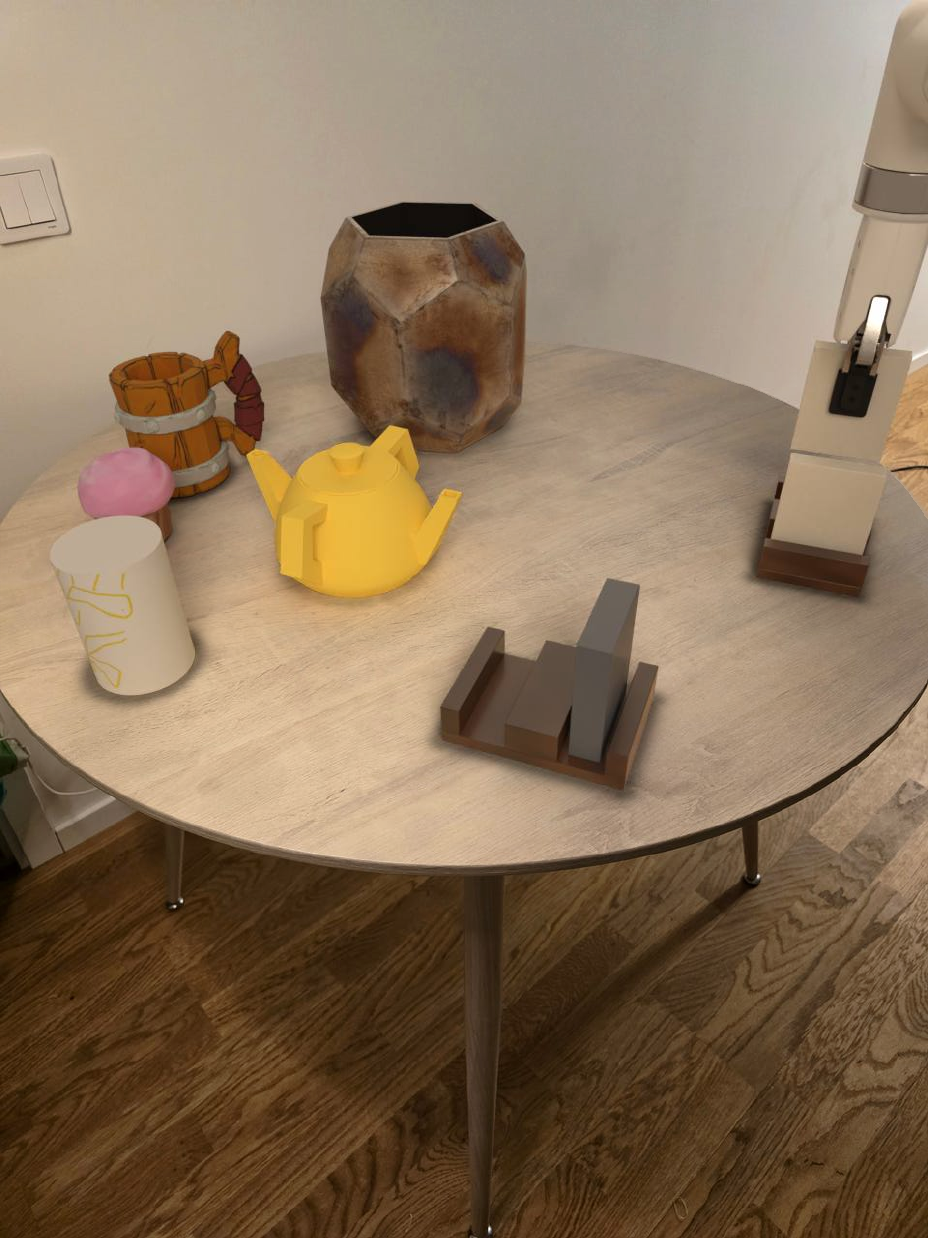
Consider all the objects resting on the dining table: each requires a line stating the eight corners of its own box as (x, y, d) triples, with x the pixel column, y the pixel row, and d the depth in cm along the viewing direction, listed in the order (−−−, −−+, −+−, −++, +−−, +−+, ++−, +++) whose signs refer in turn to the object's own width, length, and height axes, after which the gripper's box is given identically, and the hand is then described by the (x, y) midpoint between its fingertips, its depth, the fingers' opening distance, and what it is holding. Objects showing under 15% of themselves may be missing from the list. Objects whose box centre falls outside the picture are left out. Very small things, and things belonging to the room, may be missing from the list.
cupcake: (199, 521, 91) (177, 434, 84) (172, 569, 84) (146, 478, 78) (116, 519, 91) (89, 433, 85) (83, 567, 84) (50, 477, 78)
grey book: (626, 691, 68) (640, 584, 61) (600, 763, 62) (612, 653, 55) (596, 684, 68) (607, 577, 62) (567, 754, 62) (576, 645, 56)
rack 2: (864, 519, 88) (873, 489, 86) (858, 597, 78) (869, 565, 76) (772, 504, 91) (779, 474, 89) (756, 577, 81) (763, 546, 79)
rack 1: (653, 698, 68) (658, 665, 66) (623, 790, 61) (628, 757, 59) (487, 658, 73) (487, 626, 70) (441, 740, 65) (439, 706, 63)
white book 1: (791, 440, 84) (815, 339, 78) (880, 453, 81) (912, 350, 75) (790, 449, 83) (814, 347, 76) (879, 462, 80) (912, 358, 74)
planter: (559, 444, 102) (569, 231, 88) (359, 481, 96) (335, 260, 82) (493, 374, 119) (492, 186, 104) (319, 403, 113) (292, 207, 98)
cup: (74, 673, 72) (26, 554, 65) (149, 621, 77) (112, 505, 70) (142, 708, 69) (99, 586, 61) (215, 651, 74) (183, 532, 67)
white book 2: (857, 562, 80) (888, 466, 74) (856, 572, 79) (887, 476, 73) (768, 546, 83) (791, 452, 77) (766, 556, 82) (789, 461, 75)
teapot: (416, 501, 93) (409, 396, 85) (470, 587, 80) (468, 473, 73) (260, 533, 88) (238, 426, 81) (292, 629, 76) (270, 513, 69)
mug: (122, 469, 100) (83, 342, 91) (258, 435, 106) (235, 312, 97) (144, 511, 92) (105, 377, 83) (289, 471, 99) (267, 342, 89)
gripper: (860, 165, 74) (811, 370, 86) (851, 210, 63) (796, 440, 75) (955, 170, 72) (892, 380, 84) (965, 218, 61) (890, 453, 72)
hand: (847, 407), depth 79 cm, fingers closed on white book 1, 1 cm apart
